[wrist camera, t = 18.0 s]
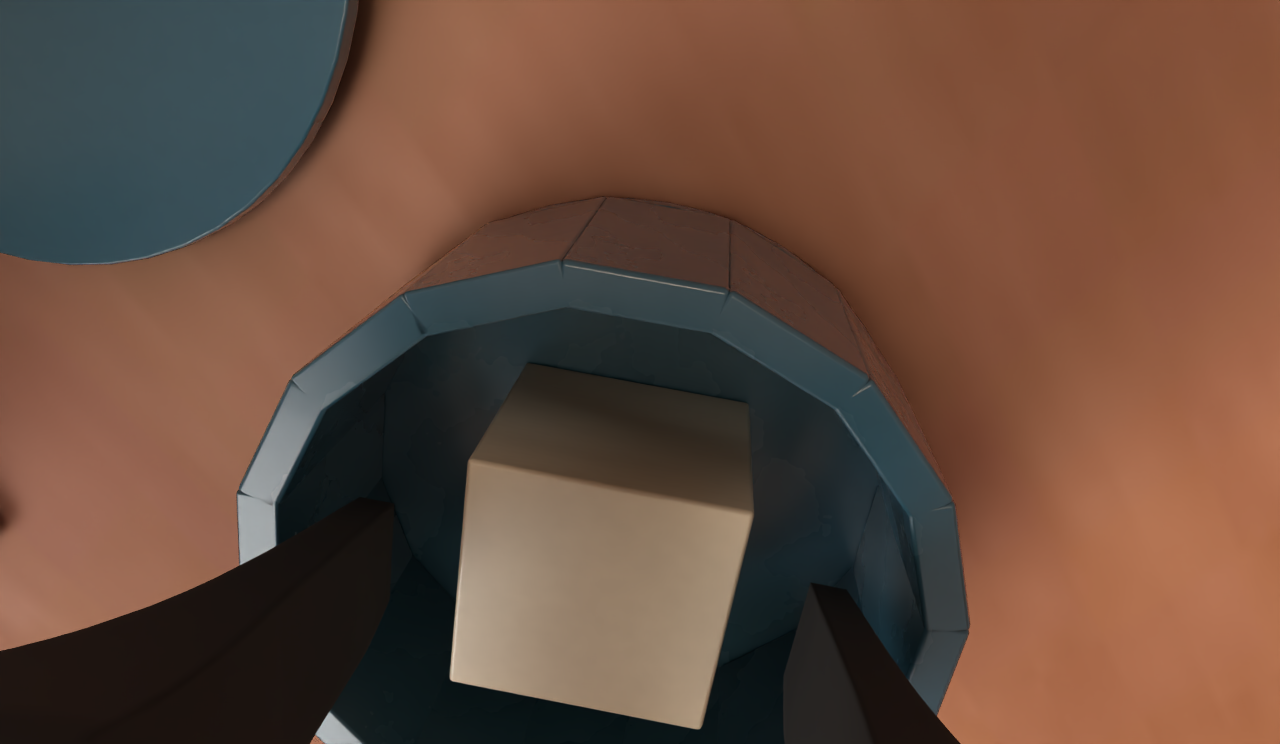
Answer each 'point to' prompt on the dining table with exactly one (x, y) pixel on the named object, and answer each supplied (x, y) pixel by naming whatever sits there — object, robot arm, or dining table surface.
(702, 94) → the dining table surface
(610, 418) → the block
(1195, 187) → the dining table surface
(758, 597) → the tin
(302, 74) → the tin lid
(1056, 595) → the dining table surface
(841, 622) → the robot arm
